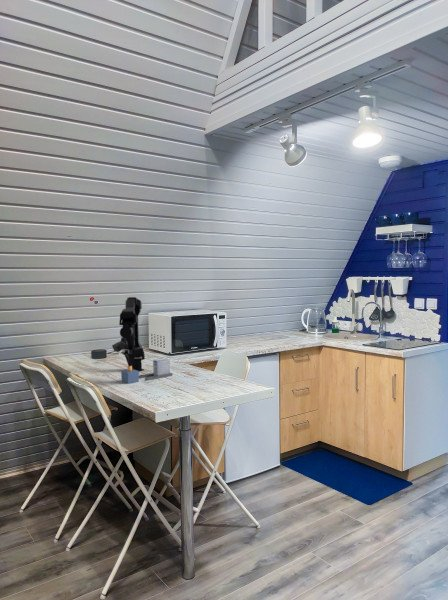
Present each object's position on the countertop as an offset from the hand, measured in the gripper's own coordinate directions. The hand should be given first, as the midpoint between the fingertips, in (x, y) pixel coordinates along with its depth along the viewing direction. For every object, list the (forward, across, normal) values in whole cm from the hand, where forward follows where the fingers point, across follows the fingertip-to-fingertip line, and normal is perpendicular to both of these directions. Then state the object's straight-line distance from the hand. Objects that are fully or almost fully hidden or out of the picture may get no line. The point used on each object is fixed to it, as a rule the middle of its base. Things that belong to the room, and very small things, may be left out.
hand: (129, 366), depth 228 cm
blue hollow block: (+8, 0, 0) cm, 8 cm away
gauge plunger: (+4, 0, 0) cm, 4 cm away
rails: (+8, 0, +15) cm, 17 cm away
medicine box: (+8, 0, +19) cm, 21 cm away
